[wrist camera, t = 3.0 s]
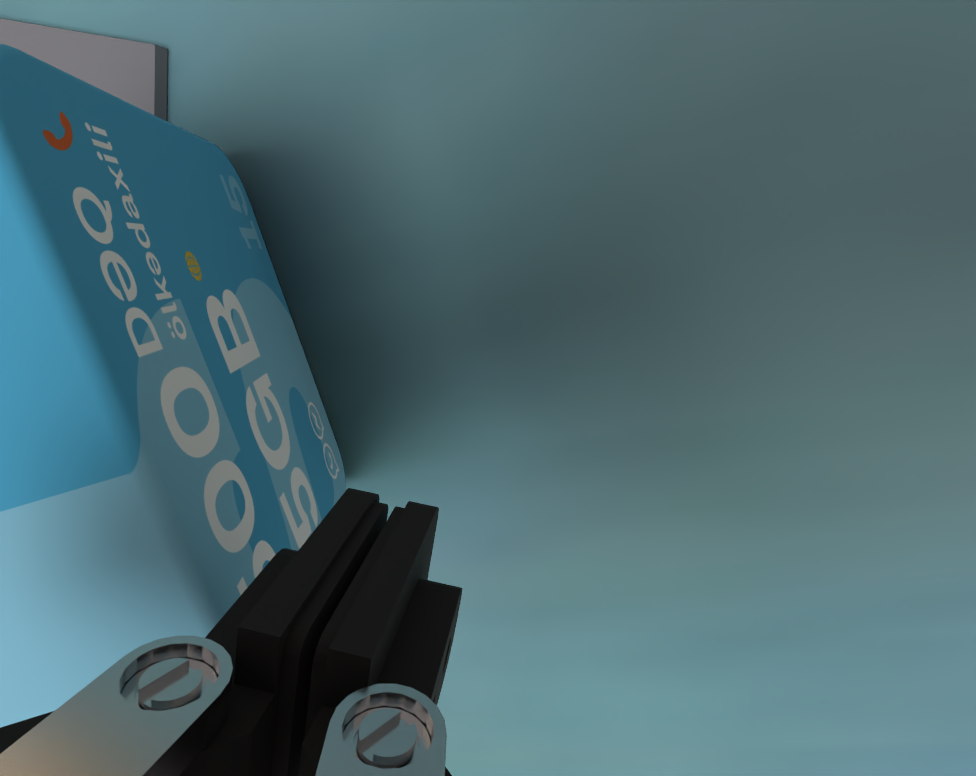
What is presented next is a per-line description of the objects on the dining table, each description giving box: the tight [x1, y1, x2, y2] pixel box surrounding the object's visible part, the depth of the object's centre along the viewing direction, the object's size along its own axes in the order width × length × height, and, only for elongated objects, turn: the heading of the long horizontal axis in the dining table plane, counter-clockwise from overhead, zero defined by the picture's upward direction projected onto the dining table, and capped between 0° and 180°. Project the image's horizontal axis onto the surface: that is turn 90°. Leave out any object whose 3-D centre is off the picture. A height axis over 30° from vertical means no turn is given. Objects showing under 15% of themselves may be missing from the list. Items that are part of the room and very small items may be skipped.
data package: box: [0, 44, 346, 728], centre depth 15 cm, size 12×4×12 cm, turn 16°
